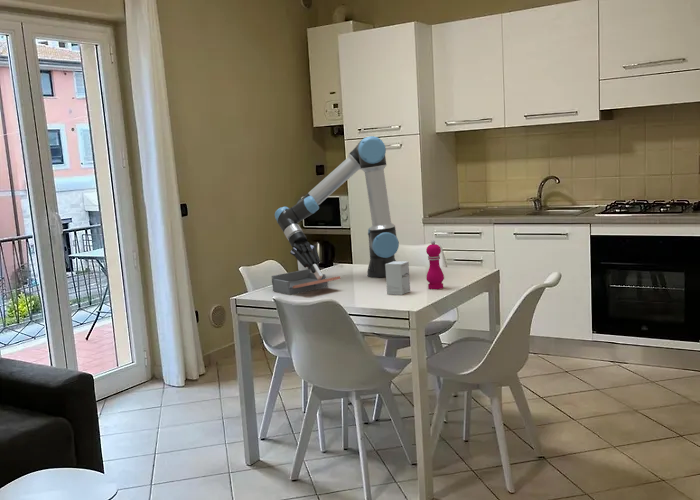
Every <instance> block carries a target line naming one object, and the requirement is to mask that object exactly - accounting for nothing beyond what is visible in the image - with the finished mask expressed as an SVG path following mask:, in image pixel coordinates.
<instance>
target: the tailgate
mask: <svg viewBox="0 0 700 500" xmlns="http://www.w3.org/2000/svg"><path fill="white" fill-rule="evenodd" d="M337 280H341V276H335V277H329V278H326V279H323V280H318V281H313V282H308V283H304V284H299V285H294V286H293V289H294V288H299V287H304V286H309V285H313V284H314V286H315V285H320V284H325V283H328V281H329V282H331V281H337Z"/></svg>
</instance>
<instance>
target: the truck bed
mask: <svg viewBox="0 0 700 500" xmlns="http://www.w3.org/2000/svg"><path fill="white" fill-rule="evenodd" d="M322 275H323V276H322V278H321V279H320V280H323V279H327V276H326V274H323V273H322ZM313 281H318V279H317V278H316V276H315V274H314V273H312V272H311V271H310V269H306V270H300V271H299V270H296V271H291V272H286V273H278V274H275V275H271V284H272V285H271V286H272V292H273V291H274V293H279V294H284V295H288V296H291V295H296V294H301V293H305V292H310V291H311V292H312V291H314V290H315V291H316V290H319V289H320V290H321V289H323V288H324V289H325V288H329V286H328V285H329V284H328V282H330V281H328V282H327V283H325V284H320V285H315V286H314V284H313V285H309V286H304V287H299V288H294V289H293V286H294V285H299V284H304V283H308V282H313Z"/></svg>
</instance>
